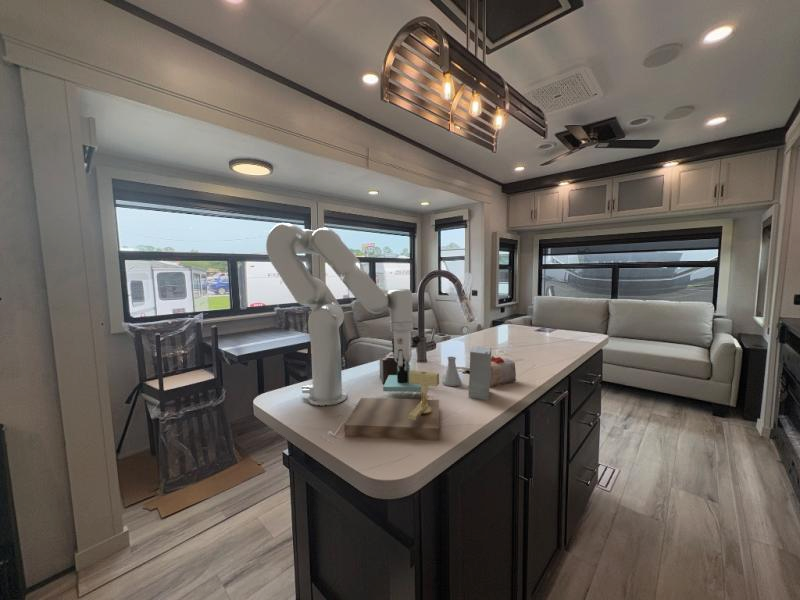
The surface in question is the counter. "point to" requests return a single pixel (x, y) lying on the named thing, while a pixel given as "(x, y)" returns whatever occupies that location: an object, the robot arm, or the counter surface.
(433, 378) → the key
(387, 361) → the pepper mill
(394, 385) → the cover
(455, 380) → the flask
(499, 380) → the food item
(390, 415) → the base
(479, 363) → the skincare box
